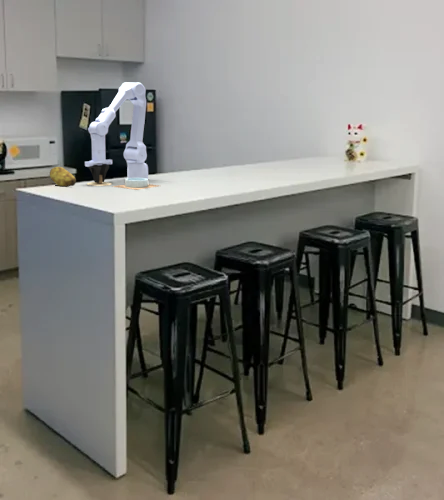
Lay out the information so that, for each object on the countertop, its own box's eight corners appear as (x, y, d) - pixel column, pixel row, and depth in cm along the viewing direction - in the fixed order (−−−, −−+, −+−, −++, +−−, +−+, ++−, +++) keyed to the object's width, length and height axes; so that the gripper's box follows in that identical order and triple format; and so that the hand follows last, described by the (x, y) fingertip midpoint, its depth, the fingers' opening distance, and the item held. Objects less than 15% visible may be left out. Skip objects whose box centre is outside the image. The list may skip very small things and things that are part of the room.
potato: (59, 188, 263) (58, 169, 261) (47, 184, 273) (46, 166, 271) (78, 187, 268) (77, 168, 266) (65, 183, 277) (64, 165, 276)
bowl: (135, 183, 274) (135, 177, 274) (152, 186, 269) (152, 179, 268) (120, 186, 266) (120, 179, 266) (137, 188, 261) (137, 181, 261)
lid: (99, 183, 279) (99, 173, 278) (116, 185, 273) (116, 175, 272) (82, 185, 270) (81, 175, 269) (99, 187, 265) (99, 177, 264)
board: (136, 185, 278) (136, 182, 278) (161, 188, 271) (161, 185, 271) (111, 188, 265) (111, 186, 265) (136, 192, 258) (136, 189, 258)
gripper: (103, 148, 276) (104, 179, 279) (79, 150, 264) (80, 182, 268) (115, 149, 272) (116, 181, 276) (91, 151, 261) (92, 184, 264)
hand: (99, 182), depth 271 cm, fingers closed on lid, 3 cm apart
